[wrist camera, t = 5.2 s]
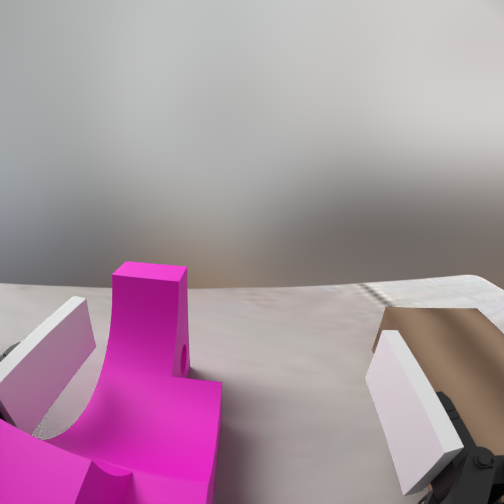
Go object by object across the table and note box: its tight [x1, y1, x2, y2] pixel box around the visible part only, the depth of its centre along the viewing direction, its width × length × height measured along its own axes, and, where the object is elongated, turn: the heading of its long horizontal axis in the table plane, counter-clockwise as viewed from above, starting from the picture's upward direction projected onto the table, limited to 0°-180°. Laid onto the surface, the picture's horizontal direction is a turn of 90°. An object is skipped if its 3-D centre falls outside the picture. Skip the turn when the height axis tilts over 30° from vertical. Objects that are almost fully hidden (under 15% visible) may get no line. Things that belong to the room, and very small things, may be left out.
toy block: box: [0, 261, 222, 504], centre depth 10 cm, size 15×6×8 cm, turn 0°
